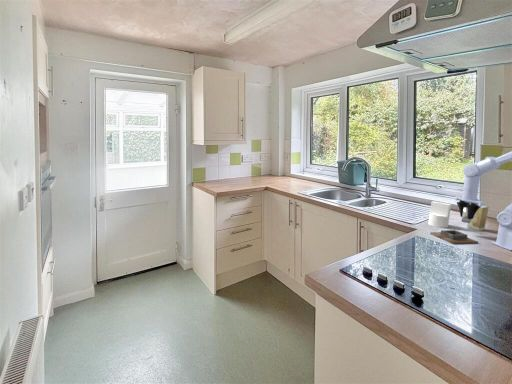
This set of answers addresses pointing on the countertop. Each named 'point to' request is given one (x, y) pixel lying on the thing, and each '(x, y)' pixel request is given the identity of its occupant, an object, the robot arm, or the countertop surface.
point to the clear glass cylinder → (465, 215)
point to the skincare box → (479, 219)
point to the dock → (454, 237)
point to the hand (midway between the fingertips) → (466, 217)
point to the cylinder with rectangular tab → (439, 214)
